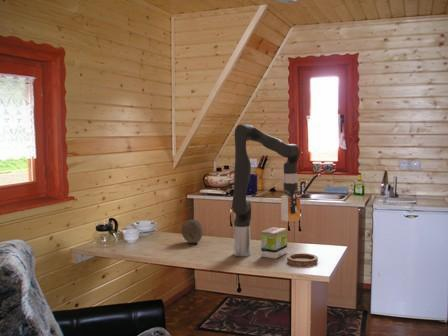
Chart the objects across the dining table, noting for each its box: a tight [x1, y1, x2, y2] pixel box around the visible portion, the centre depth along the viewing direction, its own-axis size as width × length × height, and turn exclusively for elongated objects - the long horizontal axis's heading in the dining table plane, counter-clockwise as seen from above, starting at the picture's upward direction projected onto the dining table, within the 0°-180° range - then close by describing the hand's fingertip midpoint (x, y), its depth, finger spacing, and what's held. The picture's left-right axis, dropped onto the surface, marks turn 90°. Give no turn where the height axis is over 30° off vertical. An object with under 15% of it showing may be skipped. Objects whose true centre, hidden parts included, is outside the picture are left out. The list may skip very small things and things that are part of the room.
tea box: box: [260, 226, 288, 260], centre depth 283 cm, size 15×10×15 cm, turn 148°
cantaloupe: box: [181, 219, 204, 244], centre depth 315 cm, size 14×14×15 cm
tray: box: [286, 252, 319, 267], centre depth 268 cm, size 16×16×3 cm
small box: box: [280, 195, 301, 222], centre depth 261 cm, size 8×6×13 cm
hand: (291, 212), depth 261 cm, fingers closed on small box, 7 cm apart
